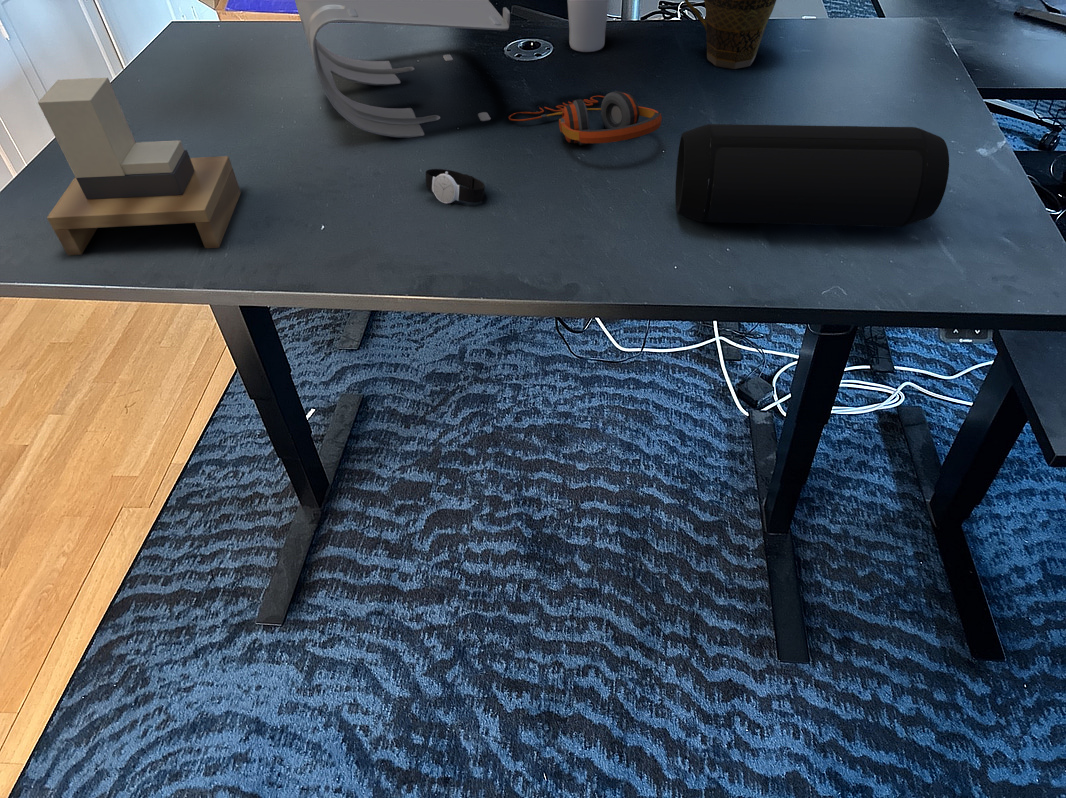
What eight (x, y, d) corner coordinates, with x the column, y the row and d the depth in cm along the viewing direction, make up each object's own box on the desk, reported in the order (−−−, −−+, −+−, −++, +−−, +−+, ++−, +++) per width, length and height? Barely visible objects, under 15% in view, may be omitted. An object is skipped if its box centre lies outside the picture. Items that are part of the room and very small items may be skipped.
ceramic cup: (773, 51, 114) (787, -23, 106) (756, 79, 107) (770, 2, 100) (688, 38, 118) (696, -33, 110) (667, 64, 111) (674, -10, 104)
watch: (417, 195, 89) (413, 167, 86) (442, 177, 91) (439, 149, 89) (470, 215, 85) (467, 186, 83) (495, 196, 88) (493, 167, 85)
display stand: (68, 258, 82) (46, 217, 78) (103, 202, 89) (84, 162, 86) (220, 250, 82) (204, 209, 78) (242, 195, 90) (228, 155, 86)
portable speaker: (903, 195, 86) (934, 109, 79) (927, 247, 79) (964, 158, 72) (672, 190, 88) (682, 106, 81) (676, 241, 81) (687, 153, 74)
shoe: (86, 199, 80) (37, 102, 73) (102, 174, 84) (57, 79, 76) (182, 195, 80) (143, 97, 73) (195, 170, 84) (158, 74, 76)
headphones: (504, 135, 103) (568, 172, 87) (498, 94, 100) (564, 124, 84) (615, 110, 107) (695, 140, 92) (613, 69, 105) (695, 94, 89)
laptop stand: (311, 73, 112) (284, -44, 101) (468, 49, 117) (458, -66, 106) (336, 156, 95) (306, 26, 84) (518, 123, 100) (512, -4, 89)
